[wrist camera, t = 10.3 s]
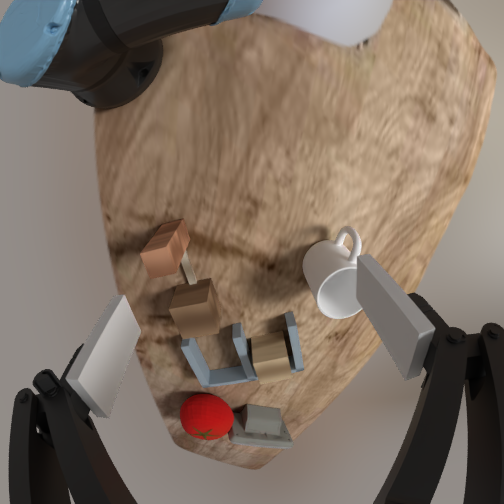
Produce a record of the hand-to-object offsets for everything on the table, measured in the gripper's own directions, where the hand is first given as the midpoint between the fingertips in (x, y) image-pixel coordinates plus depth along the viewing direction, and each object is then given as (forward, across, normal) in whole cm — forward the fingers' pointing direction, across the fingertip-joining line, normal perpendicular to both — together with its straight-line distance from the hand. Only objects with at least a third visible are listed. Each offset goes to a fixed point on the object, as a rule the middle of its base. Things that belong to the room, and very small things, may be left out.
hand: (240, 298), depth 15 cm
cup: (+28, +13, -12) cm, 33 cm away
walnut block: (+27, -10, -11) cm, 31 cm away
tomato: (+28, -16, -46) cm, 56 cm away
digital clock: (+28, -6, -54) cm, 61 cm away
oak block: (+27, 0, -30) cm, 40 cm away
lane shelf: (+27, -4, -29) cm, 40 cm away
